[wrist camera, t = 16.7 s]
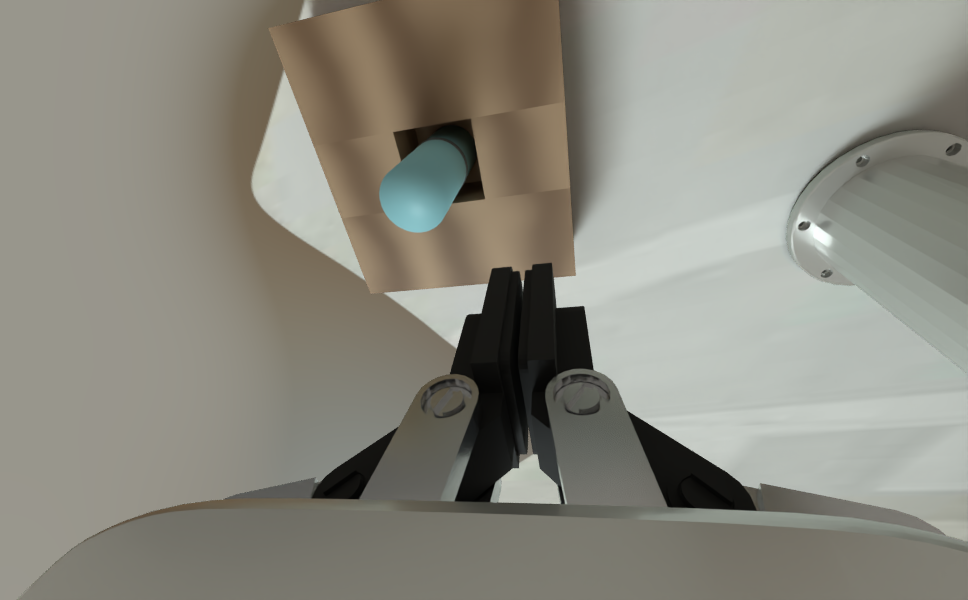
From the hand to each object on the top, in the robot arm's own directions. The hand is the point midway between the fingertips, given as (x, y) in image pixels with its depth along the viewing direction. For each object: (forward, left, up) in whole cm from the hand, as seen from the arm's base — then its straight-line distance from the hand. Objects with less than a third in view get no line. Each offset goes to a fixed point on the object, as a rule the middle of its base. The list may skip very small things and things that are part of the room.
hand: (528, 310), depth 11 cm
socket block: (+7, 0, -25) cm, 26 cm away
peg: (+7, 0, -24) cm, 25 cm away
